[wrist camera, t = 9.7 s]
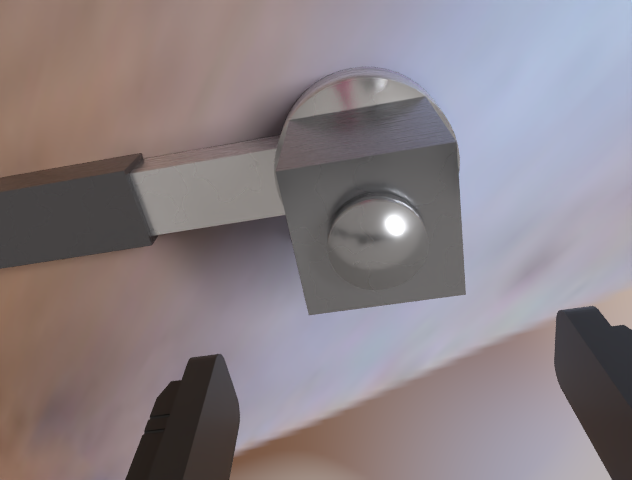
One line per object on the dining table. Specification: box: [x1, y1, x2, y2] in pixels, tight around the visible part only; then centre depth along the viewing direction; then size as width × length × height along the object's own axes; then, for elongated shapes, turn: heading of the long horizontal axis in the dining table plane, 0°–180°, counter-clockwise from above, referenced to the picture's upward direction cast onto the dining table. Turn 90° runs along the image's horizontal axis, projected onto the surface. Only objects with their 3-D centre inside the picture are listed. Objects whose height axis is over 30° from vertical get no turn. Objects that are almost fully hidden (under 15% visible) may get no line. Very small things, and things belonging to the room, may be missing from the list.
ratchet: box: [0, 67, 460, 269], centre depth 23 cm, size 25×8×6 cm, turn 101°
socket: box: [275, 96, 466, 315], centre depth 20 cm, size 6×6×7 cm
